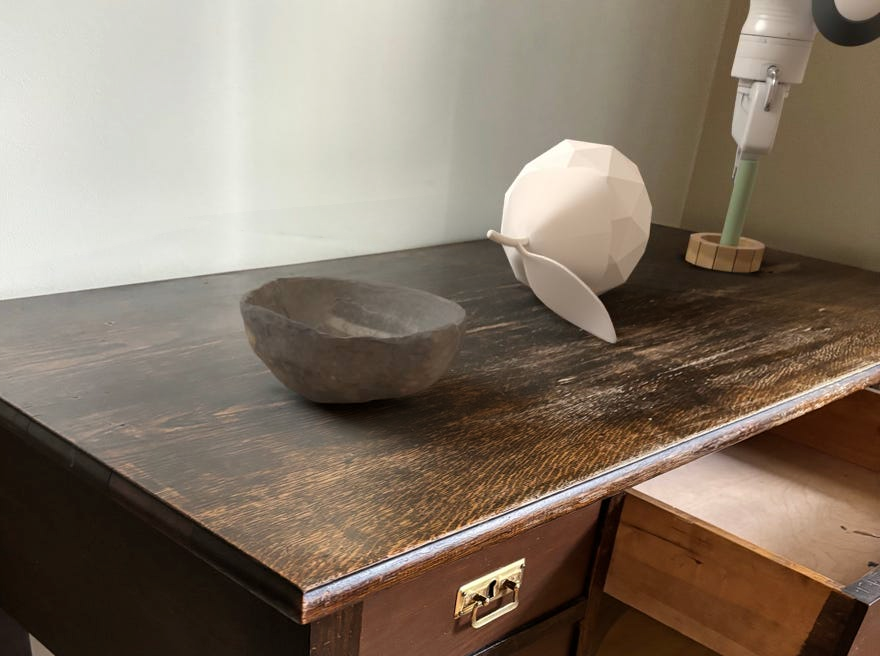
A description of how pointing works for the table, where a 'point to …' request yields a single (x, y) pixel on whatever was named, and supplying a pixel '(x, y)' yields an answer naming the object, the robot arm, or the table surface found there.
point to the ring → (724, 253)
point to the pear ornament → (576, 229)
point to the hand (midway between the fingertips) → (739, 184)
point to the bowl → (352, 336)
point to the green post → (739, 202)
